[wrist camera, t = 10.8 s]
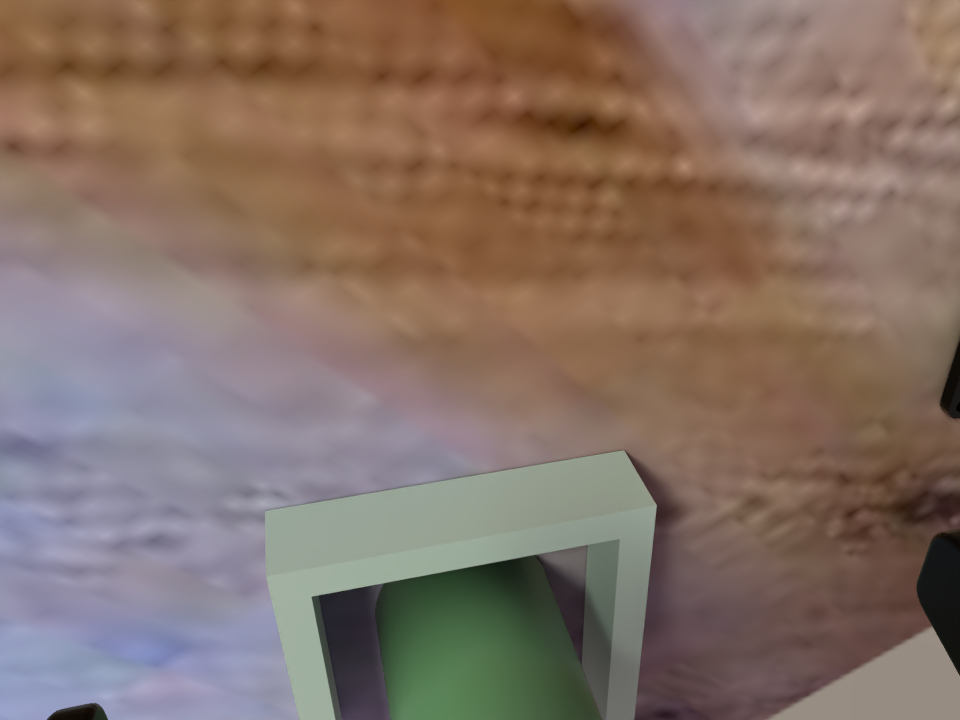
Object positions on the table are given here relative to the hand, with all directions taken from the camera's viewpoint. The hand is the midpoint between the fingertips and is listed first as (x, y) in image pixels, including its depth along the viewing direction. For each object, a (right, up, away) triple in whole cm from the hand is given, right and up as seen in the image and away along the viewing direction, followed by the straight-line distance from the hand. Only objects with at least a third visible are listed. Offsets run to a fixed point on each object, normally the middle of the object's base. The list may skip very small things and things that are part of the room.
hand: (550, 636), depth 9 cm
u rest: (-1, -5, +18) cm, 19 cm away
